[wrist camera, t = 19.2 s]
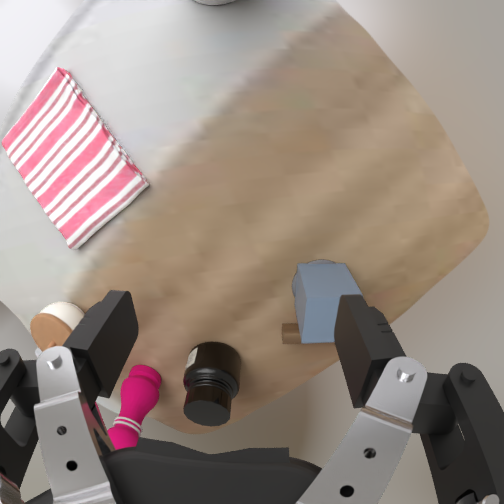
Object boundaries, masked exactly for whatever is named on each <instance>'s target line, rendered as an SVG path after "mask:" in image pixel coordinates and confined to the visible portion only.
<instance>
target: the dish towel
mask: <svg viewBox="0 0 504 504" xmlns="http://www.w3.org/2000/svg"><path fill="white" fill-rule="evenodd" d="M82 90H83V89H82ZM82 90H81V89H80V88H79V86H78V85H77V83H76V82H75V81H74V80H73V79H72V76H71V74H70V73H67V71H66V70H64V69H63V68H59V67H57V68H56V69H55V71H54V72H53V73H52V75H51V76H50V78H49V79H48V81H47V82H46V84H45V85H44V87H43V88H42V90H41V91H40V92H39V94H38V95H37V97H36V98H35V99H34V100H33V102H32V103H31V104H30V106H29V107H28V109H27V110H26V111H25V113H24V114H23V115H22V117H21V118H20V119H19V120H18V122H17V123H16V124H15V125H14V126H13V127H12V128H11V130H10V131H9V132H8V133H7V135H6V136H5V138H4V139H3V140H2V145H3V147H4V148H5V150H6V152H7V155H8V157H9V158H10V160H11V162H12V163H13V164H14V166H15V167H16V169H17V170H18V171H19V173H20V174H21V176H22V178H23V179H24V182H25V184H26V185H27V187H28V189H29V190H30V191H31V193H32V194H33V195H34V197H35V198H36V200H37V201H38V202H39V203H40V205H41V206H42V208H43V210H44V211H45V213H46V214H47V215H48V217H49V218H50V220H51V221H52V222H53V223H54V225H55V226H56V227H57V229H58V230H59V231H60V232H61V233H62V235H63V236H64V237H65V239H66V241H67V245H68V247H69V248H70V249H73V250H76V249H78V248H79V247H80V246H81V245H82V244H83V243H85V242H86V241H87V240H88V239H89V238H90V237H91V236H92V235H93V234H94V233H95V232H96V231H97V230H98V229H100V228H101V227H102V226H103V225H104V224H105V223H107V222H108V221H109V220H111V219H112V218H113V217H114V216H116V215H117V214H118V213H119V212H120V211H121V210H123V209H124V208H125V207H127V206H128V205H129V204H130V203H131V202H132V201H133V200H134V199H135V198H136V197H137V196H138V195H139V194H140V193H141V192H142V191H143V190H144V189H145V188H146V187H148V186H149V183H148V182H147V180H146V178H145V177H144V176H143V174H142V173H141V172H140V171H139V170H138V169H137V167H136V166H135V165H134V164H133V162H132V160H131V159H130V158H129V157H128V155H127V154H126V152H125V151H124V149H123V148H122V147H120V144H119V143H118V142H117V141H116V140H115V139H114V138H113V136H112V135H111V134H110V132H109V131H108V129H107V127H106V126H105V125H104V124H103V122H102V120H101V119H100V117H99V116H98V115H97V114H96V112H95V111H94V109H93V108H92V107H91V105H90V104H89V103H88V101H87V100H86V98H85V97H84V95H83V94H82Z"/></svg>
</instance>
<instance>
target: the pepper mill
mask: <svg viewBox="0 0 504 504" xmlns="http://www.w3.org/2000/svg"><path fill="white" fill-rule="evenodd" d="M160 384H161V377H160V375H159V374H158V372H157V371H155V370H154V369H152V368H151V367H148V366H145V365H136V366H134V367H133V368H132V369H131V371H130V374H129V377H128V378H126V379H125V380H124V381H123V383H122V386H121V411H120V414H119V416H118V417H117V418H115V420H114V423H113V427H112V428H110V429H109V430H107V432H108V434H109V437H110V439H111V441H112V443H113V445H114V447H115V449H116V450H117V449H122V448H126V447H134V446H136V445H137V442H138V438H139V437H140V436H141V432H142V427H141V424H142V421H143V419H144V417H145V416H146V414H147V413H148V412H149V411H150V410H151V409H153V408H154V406H155V405H156V403H157V401H158V399H159V391H158V389H159V387H160Z"/></svg>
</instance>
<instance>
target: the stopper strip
mask: <svg viewBox="0 0 504 504" xmlns="http://www.w3.org/2000/svg"><path fill="white" fill-rule="evenodd" d="M282 340H283V344H303V343H301V337H300V332H299V326H298V324H282ZM324 343H329V342H324Z"/></svg>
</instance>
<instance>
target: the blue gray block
mask: <svg viewBox="0 0 504 504" xmlns="http://www.w3.org/2000/svg"><path fill="white" fill-rule="evenodd" d="M348 294H361V295H362V293H361V291H360V290H359V288H358V286H357V284H356V282H355V281H354V279H353V277H352V275H351V273H350V272H349V270H348V268H347V266H346V265H345V263H336V264H298V266H297V283H296V296H295V310H296V315H297V321H298V326H299V332H300V337H301V343H324V342H335V341H334V328H335V322H336V317H337V311H338V306H339V300H340V297H341V295H348ZM362 296H363V295H362Z"/></svg>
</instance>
